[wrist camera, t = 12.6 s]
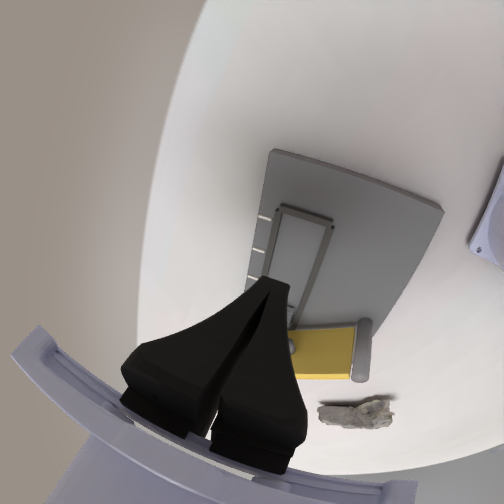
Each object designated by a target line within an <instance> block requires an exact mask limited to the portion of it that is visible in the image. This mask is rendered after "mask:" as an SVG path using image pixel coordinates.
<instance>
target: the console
mask: <svg viewBox="0 0 504 504" xmlns="http://www.w3.org/2000/svg"><path fill="white" fill-rule="evenodd" d="M444 213H445V212H444V211H443V209H442V208H441V206H439V205H437V204H435V203H433V202H431V201H428V200H426V199H424V198H421V197H419V196H417V195H414V194H412V193H410V192H407V191H405V190H402V189H400V188H397V187H395V186H392V185H389V184H387V183H384V182H381V181H379V180H376V179H373V178H370V177H368V176H365V175H362V174H359V173H356V172H353V171H350V170H347V169H344V168H341V167H338V166H335V165H332V164H328V163H325V162H322V161H318V160H315V159H311V158H308V157H304V156H301V155H297V154H293V153H290V152H286V151H282V150H278V149H273V150H271V151H270V152H269V157H268V163H267V168H266V174H265V179H264V185H263V190H262V196H261V201H260V207H259V213H258V218H257V224H256V229H255V235H254V240H253V246H252V251H251V257H250V262H249V268H248V274H247V279H246V285H245V290H244V292H245V291H247V290H248V289H249V288H250V287H251V286H252V285H253V284H254V283H255V282H256V281H257V280H258V279H259V278H260V277H261V276H263V275H264V276H267V277H270V278H272V279H275V280H278V281H281V282H284V283H287V284H289V285H290V290H289V294H288V303H287V306H288V307H291V308H294V312H293V314H292V317H291V320H290V323H289V326H288V331H296V330H319V329H336V328H350V327H354V328H355V342H354V350H353V358H352V364H353V368H352V375H351V379H352V381H354V382H357V383H363V382H366V381H367V380H368V379H369V372H370V360H371V346H372V337H373V336H374V334H375V333H376V332H377V330H378V329H379V327H380V326H381V324H382V323H383V322H384V320H385V319H386V317H387V316H388V314H389V313H390V311H391V310H392V308H393V306H394V305H395V303H396V302H397V300H398V299H399V297H400V295H401V294H402V292H403V291H404V289H405V287H406V286H407V284H408V282H409V281H410V279H411V277H412V275H413V274H414V272H415V270H416V268H417V267H418V265H419V263H420V261H421V259H422V257H423V256H424V254H425V252H426V250H427V248H428V246H429V244H430V242H431V240H432V238H433V236H434V234H435V232H436V230H437V228H438V226H439V224H440V222H441V219H442V217H443V215H444Z"/></svg>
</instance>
